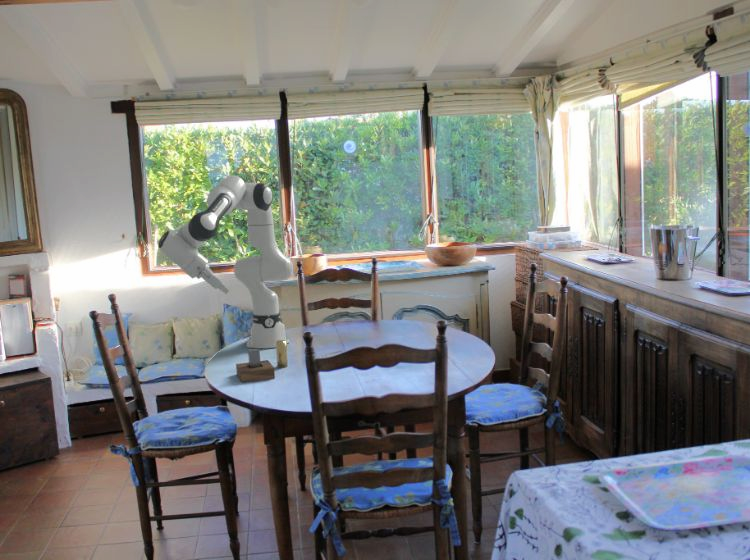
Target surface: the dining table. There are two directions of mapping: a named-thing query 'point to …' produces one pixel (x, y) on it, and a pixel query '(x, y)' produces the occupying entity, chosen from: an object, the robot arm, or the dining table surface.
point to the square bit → (254, 358)
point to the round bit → (281, 353)
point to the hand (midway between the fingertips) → (225, 290)
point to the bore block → (255, 372)
